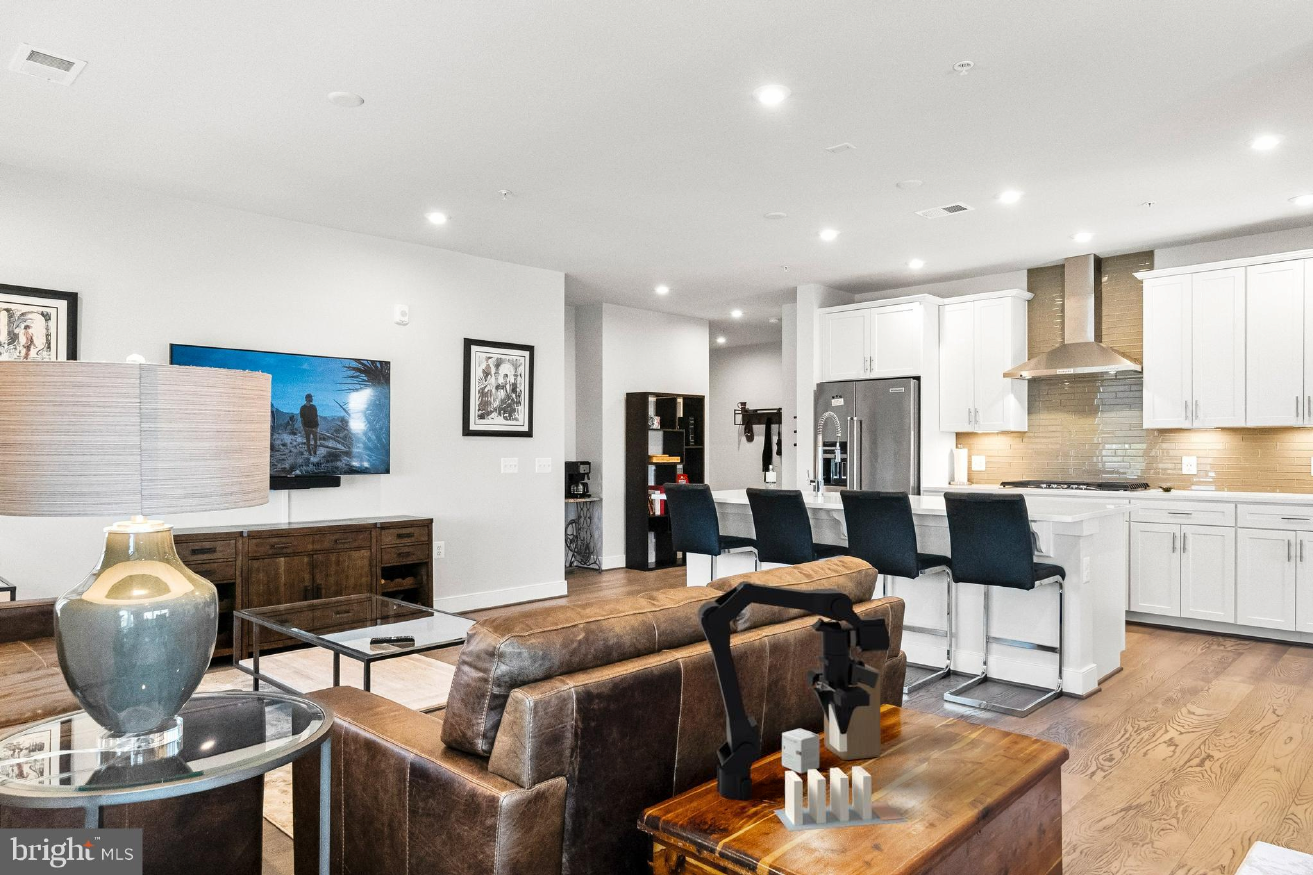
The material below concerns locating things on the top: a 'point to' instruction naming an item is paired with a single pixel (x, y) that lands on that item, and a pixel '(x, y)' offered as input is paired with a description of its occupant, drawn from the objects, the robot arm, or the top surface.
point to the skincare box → (800, 750)
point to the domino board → (879, 816)
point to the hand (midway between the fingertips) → (837, 729)
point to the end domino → (836, 733)
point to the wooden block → (861, 728)
